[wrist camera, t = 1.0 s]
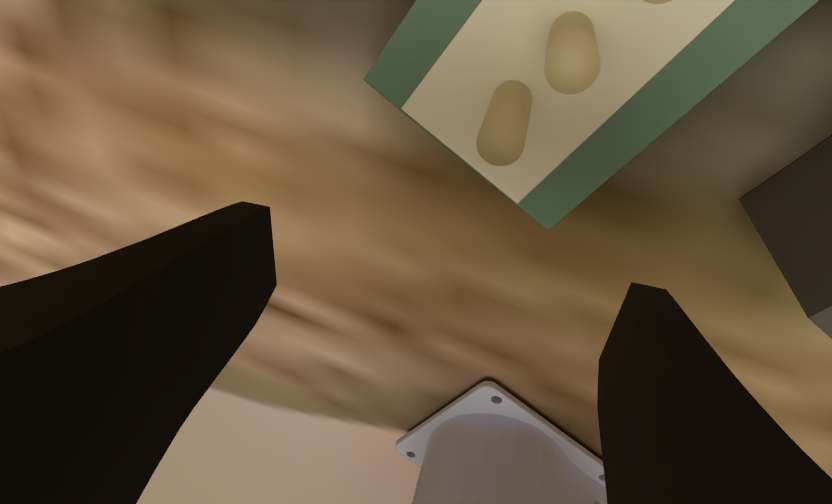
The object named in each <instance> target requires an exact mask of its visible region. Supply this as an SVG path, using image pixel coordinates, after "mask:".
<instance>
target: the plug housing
mask: <svg viewBox="0 0 832 504" xmlns="http://www.w3.org/2000/svg"><path fill="white" fill-rule="evenodd" d="M740 201H741V203H742V205H743V206H744V208H745V210H746V212H747V213H748V215H749V217H750V219H751V220H752V222H753V224H754V225H755V227H756V229H757V231H758V232H759V234H760V236H761V238H762V239H763V241H764V243H765V244H766V246H767V248H768V250H769V251H770V253H771V255H772V257H773V258H774V260H775V262H776V263H777V265H778V267H779V269H780V270H781V272H782V274H783V276H784V277H785V279H786V281H787V282H788V284H789V286H790V288H791V289H792V291H793V293H794V295H795V296H796V298H797V300H798V301H799V303H800V305H801V307H802V308H803V310H804V312H805V314H806V315H807V317H808V318H809V319H810V320H811V321H812V322H813V323H814V324H815V325H817V326H818V327H819V328H820V329H821V330H822V331H823V332H825V333H826V334H827V335H828V336H829V337H830V338H831V339H832V136H830V137H829V138H827V139H826V140H825V141H823V142H822V143H820V144H819V145H817V146H816V147H814V148H813V149H812V150H810V151H809V152H807V153H806V154H804V155H803V156H802V157H800V158H799V159H797V160H796V161H794V162H793V163H791V164H790V165H789V166H787V167H786V168H784V169H783V170H781V171H780V172H778V173H777V174H776V175H774V176H773V177H771V178H770V179H768V180H767V181H766V182H764V183H763V184H761V185H760V186H758V187H757V188H755V189H754V190H753V191H751V192H750V193H748V194H747V195H745V196H744V197H742V198H741V199H740Z"/></svg>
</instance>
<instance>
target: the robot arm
mask: <svg viewBox="0 0 832 504" xmlns="http://www.w3.org/2000/svg"><path fill="white" fill-rule="evenodd" d="M276 285H277V283H276V272H275V260H274V249H273V238H272V227H271V216H270V207H267V206H262V205H258V204H253V203H248V202H243V201H242V202H239V203H236V204H232V205H230V206H227V207H224V208H221V209H219V210H216V211H214V212H211V213H209V214H206V215H204V216H201V217H199V218H197V219H194V220H192V221H189V222H187V223H185V224H182V225H180V226H177V227H175V228H172V229H170V230H167V231H165V232H163V233H160V234H158V235H155V236H153V237H150V238H148V239H145V240H143V241H140V242H138V243H135V244H132V245H129V246H127V247H124V248H121V249H119V250H116V251H113V252H111V253H108V254H105V255H103V256H100V257H97V258H95V259H92V260H89V261H86V262H83V263H80V264H77V265H74V266H71V267H68V268H65V269H62V270H59V271H55V272H52V273H48V274H45V275H42V276H38V277H35V278H31V279H28V280H24V281H21V282H17V283H13V284H10V285H6V286H1V287H0V504H136V503H137V501H138V499H139V498H140V496H141V494H142V492H143V490H144V489H145V487H146V485H147V483H148V482H149V480H150V478H151V476H152V474H153V472H154V471H155V469H156V467H157V466H158V464H159V462H160V461H161V459H162V457H163V456H164V454H165V452H166V451H167V449H168V447H169V446H170V444H171V442H172V440H173V439H174V437H175V436H176V434H177V432H178V431H179V429H180V427H181V426H182V424H183V423H184V421H185V420H186V418H187V417H188V416H189V414H190V413H191V411H192V410H193V408H194V407H195V405H196V404H197V403H198V401H199V400H200V399H201V397H202V396H203V395H204V393H205V392H206V391H207V389H208V388H209V387H210V385H211V384H212V383H213V381H214V380H215V379H216V377H217V376H218V375H219V373H220V372H221V371H222V369H223V368H224V367H225V365H226V364H227V363H228V361H229V360H230V359H231V357H232V356H233V355H234V353H235V352H236V351H237V349H238V348H239V346H240V345H241V344H242V342H243V341H244V340H245V338H246V337H247V335H248V334H249V333H250V331H251V330H252V328H253V327H254V326H255V324H256V323H257V321H258V319H259V317H260V315H261V314H262V312H263V310H264V308H265V307H266V305H267V303H268V301H269V299H270V297H271V295H272V293H273V291H274V289H275V287H276ZM495 396H498V397H495ZM598 418H599V429H600V439H601V449H602V458H603V461H602V460H600V459H599V458H598V457H596V456H595V455H593V454H592V453H591V452H589V451H588V450H587V449H585V448H584V447H582V446H581V445H580V444H578V443H577V442H576V441H574V440H573V439H571V438H570V437H569V436H567V435H566V434H565V433H563V432H562V431H560V430H559V429H558V428H556V427H555V426H554V425H552V424H551V423H549V422H548V421H547V420H545V419H544V418H543V417H541V416H540V415H539V414H537V413H536V412H534V411H533V410H532V409H530V408H529V407H528V406H526V405H525V404H523V403H522V402H521V401H519V400H518V399H517V398H515V397H514V396H512V395H511V394H510V393H508V392H507V391H506V390H504V389H503V388H501V387H500V386H499V385H497V384H496V383H494V382H492V381H483V382H481V383H480V384H478V385H477V386H475V387H474V388H472V389H471V390H469V391H468V392H467V393H465V394H464V395H462V396H461V397H459V398H458V399H456V400H455V401H453V402H452V403H451V404H449V405H448V406H446V407H445V408H443V409H442V410H440V411H439V412H437V413H436V414H435V415H433V416H432V417H430V418H429V419H427V420H426V421H424V422H423V423H421V424H420V425H419V426H417V427H416V428H414V429H413V430H411V431H410V432H408V433H407V434H405V435H404V436H403V437H401V438H400V439H398V440H397V442H396V446H395V448H396V450H397V451H398V452H399V453H400V454H402V455H403V456H405V457H406V458H408V459H409V460H411V461H412V462H414V463H415V464H417V465H418V466H420V467H421V471H420V475H419V479H418V482H417V486H416V490H415V494H414V498H413V502H412V504H832V478H831V477H829V476H828V475H827V474H826V473H825V472H824V471H823V470H822V469H821V468H820V467H819V466H818V465H817V464H816V463H815V462H814V461H813V460H812V459H811V458H810V457H809V456H808V455H807V454H806V453H805V452H804V451H803V450H802V449H801V448H800V447H799V446H798V445H797V444H796V443H795V442H794V441H793V440H792V439H791V438H790V437H789V436H788V435H787V434H786V433H785V432H784V431H783V430H782V428H781V427H780V426H779V425H778V424H777V423H776V422H775V421H774V420H773V419H772V417H771V416H770V415H769V414H768V413H767V412H766V411H765V410H764V409H763V408H762V406H761V405H760V404H759V403H758V402H757V401H756V400H755V399H754V398H753V396H752V395H751V394H750V393H749V392H748V391H747V390H746V388H745V387H744V386H743V385H742V384H741V383H740V381H739V380H738V379H737V378H736V377H735V375H734V374H733V373H732V372H731V371H730V369H729V368H728V367H727V366H726V365H725V363H724V362H723V361H722V360H721V358H720V357H719V356H718V355H717V353H716V352H715V351H714V350H713V348H712V347H711V346H710V345H709V343H708V342H707V341H706V340H705V338H704V337H703V336H702V334H701V333H700V332H699V331H698V329H697V328H696V327H695V325H694V324H693V323H692V322H691V320H690V319H689V318H688V316H687V315H686V314H685V312H684V311H683V310H682V309H681V307H680V306H679V305H678V303H677V302H676V301H675V300H674V298H673V297H672V296H671V295H670V294H669V292H668V291H667V290H666V289H661V288H656V287H651V286H647V285H642V284H637V283H632V282H631V285H630V287H629V290H628V292H627V294H626V297H625V299H624V301H623V304H622V306H621V309H620V311H619V313H618V316H617V318H616V320H615V323H614V325H613V328H612V330H611V332H610V335H609V337H608V339H607V342H606V344H605V347H604V349H603V351H602V354H601V356H600V358H599V373H598Z"/></svg>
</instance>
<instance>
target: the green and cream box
mask: <svg viewBox="0 0 832 504" xmlns="http://www.w3.org/2000/svg"><path fill="white" fill-rule="evenodd" d="M817 1H819V0H416V1H415V3H414V4H413V6H412V7H411V9H410V10H409V12H408V13H407V15H406V16H405V18H404V19H403V21H402V22H401V24H400V25H399V27H398V28H397V30H396V31H395V33H394V34H393V36H392V37H391V39H390V40H389V42H388V43H387V45H386V46H385V48H384V49H383V51H382V52H381V54H380V55H379V57H378V58H377V60H376V61H375V63H374V64H373V66H372V67H371V69H370V70H369V72H368V73H367V75H366V76H365V78H364V79H363V80H364V81H365V82H366V83H368V84H369V85H370V86H371V87H373V88H374V89H375V90H376V91H377V92H379V93H380V94H381V95H382V96H384V97H385V98H386V99H387V100H388V101H390V102H391V103H392V104H393V105H395V106H396V107H397V108H398V109H399V110H401V111H402V112H403V113H404V114H406V115H407V116H408V117H409V118H411V119H412V120H413V121H414V122H415V123H417V124H418V125H419V126H420V127H422V128H423V129H424V130H425V131H426V132H428V133H429V134H430V135H431V136H433V137H434V138H435V139H436V140H437V141H439V142H440V143H441V144H442V145H444V146H445V147H446V148H447V149H448V150H450V151H451V152H452V153H453V154H455V155H456V156H457V157H458V158H460V159H461V160H462V161H463V162H464V163H466V164H467V165H468V166H469V167H471V168H472V169H473V170H474V171H475V172H477V173H478V174H479V175H480V176H482V177H483V178H484V179H485V180H486V181H488V182H489V183H490V184H491V185H493V186H494V187H495V188H496V189H497V190H499V191H500V192H501V193H502V194H504V195H505V196H506V197H507V198H509V199H510V200H511V201H512V202H513V203H515V204H516V205H517V206H518V207H520V208H521V209H522V210H523V211H524V212H526V213H527V214H528V215H529V216H531V217H532V218H533V219H534V220H535V221H537V222H538V223H539V224H540V225H542V226H543V227H544V228H545V229H547V230H549V229H550V228H552V227H553V226H554V225H555V224H556V223H557V222H559V221H560V220H561V219H562V218H563V217H564V216H566V215H567V214H568V213H569V212H570V211H572V210H573V209H574V208H575V207H576V206H577V205H579V204H580V203H581V202H582V201H583V200H584V199H586V198H587V197H588V196H589V195H590V194H592V193H593V192H594V191H595V190H596V189H597V188H599V187H600V186H601V185H602V184H603V183H604V182H606V181H607V180H608V179H609V178H610V177H612V176H613V175H614V174H615V173H616V172H617V171H619V170H620V169H621V168H622V167H623V166H624V165H626V164H627V163H628V162H629V161H630V160H632V159H633V158H634V157H635V156H636V155H637V154H639V153H640V152H641V151H642V150H643V149H644V148H646V147H647V146H648V145H649V144H650V143H652V142H653V141H654V140H655V139H656V138H657V137H659V136H660V135H661V134H662V133H663V132H664V131H666V130H667V129H668V128H669V127H670V126H672V125H673V124H674V123H675V122H676V121H677V120H679V119H680V118H681V117H682V116H683V115H684V114H686V113H687V112H688V111H689V110H690V109H692V108H693V107H694V106H695V105H696V104H697V103H699V102H700V101H701V100H702V99H703V98H704V97H706V96H707V95H708V94H709V93H710V92H711V91H713V90H714V89H715V88H716V87H717V86H719V85H720V84H721V83H722V82H723V81H724V80H726V79H727V78H728V77H729V76H730V75H731V74H733V73H734V72H735V71H736V70H737V69H739V68H740V67H741V66H742V65H743V64H744V63H746V62H747V61H748V60H749V59H750V58H751V57H753V56H754V55H755V54H756V53H757V52H759V51H760V50H761V49H762V48H763V47H764V46H766V45H767V44H768V43H769V42H770V41H771V40H773V39H774V38H775V37H776V36H777V35H779V34H780V33H781V32H782V31H783V30H784V29H786V28H787V27H788V26H789V25H790V24H791V23H793V22H794V21H795V20H796V19H797V18H799V17H800V16H801V15H802V14H803V13H804V12H806V11H807V10H808V9H809V8H810V7H811V6H813V5H814V4H815V3H816V2H817Z"/></svg>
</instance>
